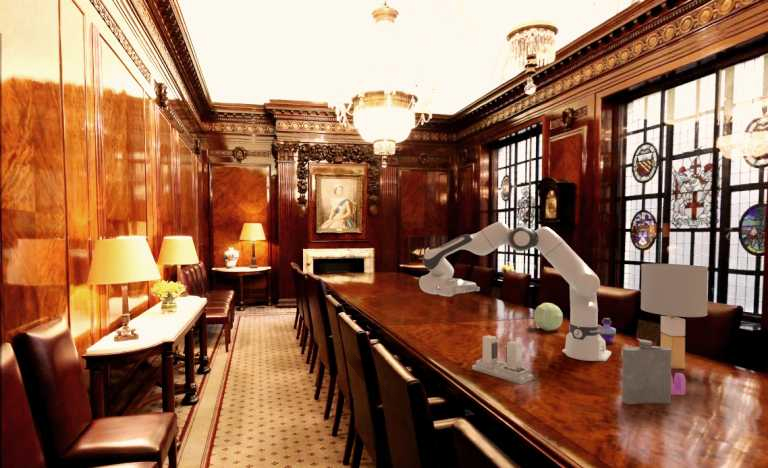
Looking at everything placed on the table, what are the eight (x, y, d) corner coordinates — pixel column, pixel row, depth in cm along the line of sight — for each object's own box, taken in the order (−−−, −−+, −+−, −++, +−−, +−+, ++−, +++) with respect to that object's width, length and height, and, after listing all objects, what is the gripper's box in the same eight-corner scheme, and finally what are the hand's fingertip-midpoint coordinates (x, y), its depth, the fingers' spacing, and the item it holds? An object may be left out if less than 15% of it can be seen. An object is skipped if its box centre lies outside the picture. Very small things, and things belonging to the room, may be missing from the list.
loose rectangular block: (488, 364, 172) (488, 335, 172) (498, 367, 168) (498, 337, 168) (482, 366, 169) (482, 336, 169) (492, 369, 166) (492, 338, 165)
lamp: (721, 375, 164) (722, 268, 164) (662, 374, 165) (663, 268, 164) (680, 357, 187) (682, 263, 187) (629, 357, 187) (629, 263, 187)
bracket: (685, 395, 145) (685, 375, 145) (668, 394, 145) (668, 374, 145) (662, 381, 158) (662, 363, 158) (646, 381, 158) (647, 362, 158)
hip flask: (626, 404, 136) (626, 342, 136) (618, 399, 140) (619, 339, 140) (673, 403, 137) (673, 342, 137) (664, 398, 141) (664, 339, 141)
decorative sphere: (529, 327, 245) (529, 301, 245) (553, 326, 247) (554, 301, 247) (541, 333, 230) (542, 306, 230) (567, 332, 232) (568, 305, 232)
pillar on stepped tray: (484, 365, 176) (484, 332, 176) (533, 379, 159) (533, 343, 159) (471, 369, 170) (472, 336, 170) (521, 384, 154) (521, 347, 154)
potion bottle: (619, 344, 209) (620, 320, 209) (602, 344, 209) (602, 320, 209) (610, 339, 217) (611, 316, 217) (593, 339, 217) (594, 316, 217)
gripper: (432, 281, 188) (457, 284, 178) (461, 278, 202) (485, 281, 191) (432, 295, 188) (457, 299, 178) (461, 291, 202) (485, 294, 191)
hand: (472, 290), depth 185 cm, fingers open, 8 cm apart
